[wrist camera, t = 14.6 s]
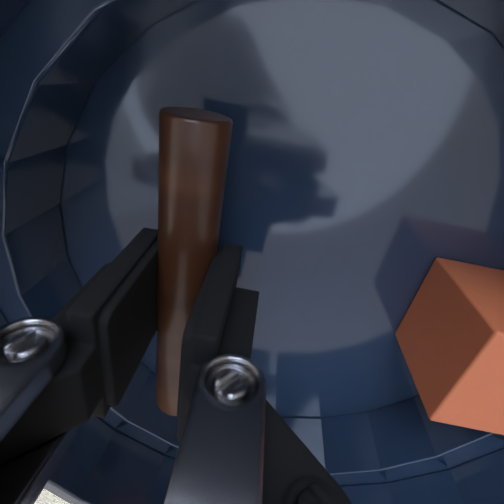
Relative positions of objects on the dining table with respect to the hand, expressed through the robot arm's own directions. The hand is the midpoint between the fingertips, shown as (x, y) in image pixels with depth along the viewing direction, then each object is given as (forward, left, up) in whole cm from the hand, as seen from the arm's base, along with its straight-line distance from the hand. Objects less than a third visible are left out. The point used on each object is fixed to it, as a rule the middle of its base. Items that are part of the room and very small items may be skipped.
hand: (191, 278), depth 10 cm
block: (+8, +4, -1) cm, 9 cm away
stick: (0, 0, 0) cm, 0 cm away
